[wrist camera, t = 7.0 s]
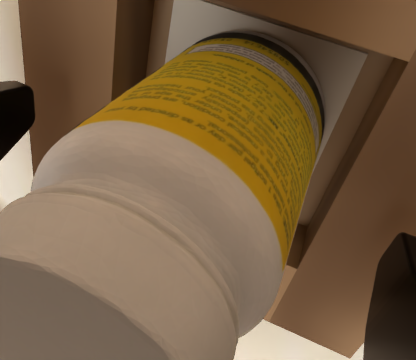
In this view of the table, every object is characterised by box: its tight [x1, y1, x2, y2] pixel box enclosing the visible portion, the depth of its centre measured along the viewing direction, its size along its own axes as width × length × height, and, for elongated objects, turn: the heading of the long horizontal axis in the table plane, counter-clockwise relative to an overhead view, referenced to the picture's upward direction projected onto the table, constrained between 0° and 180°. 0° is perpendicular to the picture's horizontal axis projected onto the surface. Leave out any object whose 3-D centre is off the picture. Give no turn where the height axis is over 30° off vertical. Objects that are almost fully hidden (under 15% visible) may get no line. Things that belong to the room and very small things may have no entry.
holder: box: [18, 0, 416, 358], centre depth 11 cm, size 12×12×3 cm
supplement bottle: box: [0, 31, 326, 360], centre depth 8 cm, size 5×5×8 cm
